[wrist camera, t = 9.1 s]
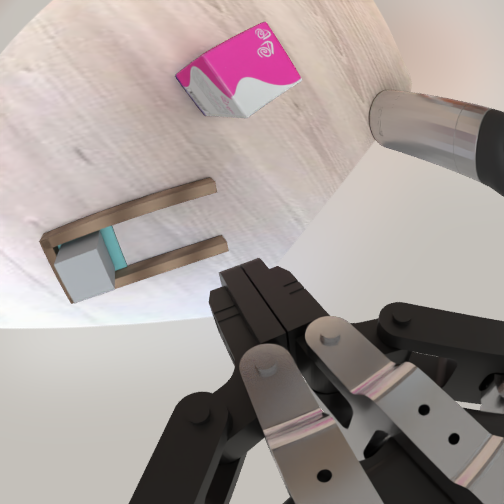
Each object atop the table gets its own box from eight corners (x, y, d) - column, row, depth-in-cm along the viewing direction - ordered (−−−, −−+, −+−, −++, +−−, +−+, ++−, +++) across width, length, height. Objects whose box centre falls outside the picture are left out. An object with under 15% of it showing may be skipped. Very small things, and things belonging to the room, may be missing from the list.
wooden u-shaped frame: (210, 177, 32) (215, 181, 30) (223, 243, 36) (228, 250, 35) (43, 233, 26) (39, 241, 25) (72, 294, 31) (71, 303, 29)
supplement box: (248, 86, 28) (305, 82, 19) (204, 116, 28) (244, 123, 19) (220, 45, 25) (267, 19, 16) (173, 75, 25) (197, 57, 15)
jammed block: (99, 230, 29) (96, 248, 25) (115, 267, 31) (114, 289, 28) (61, 244, 27) (53, 264, 24) (78, 280, 30) (74, 303, 26)
